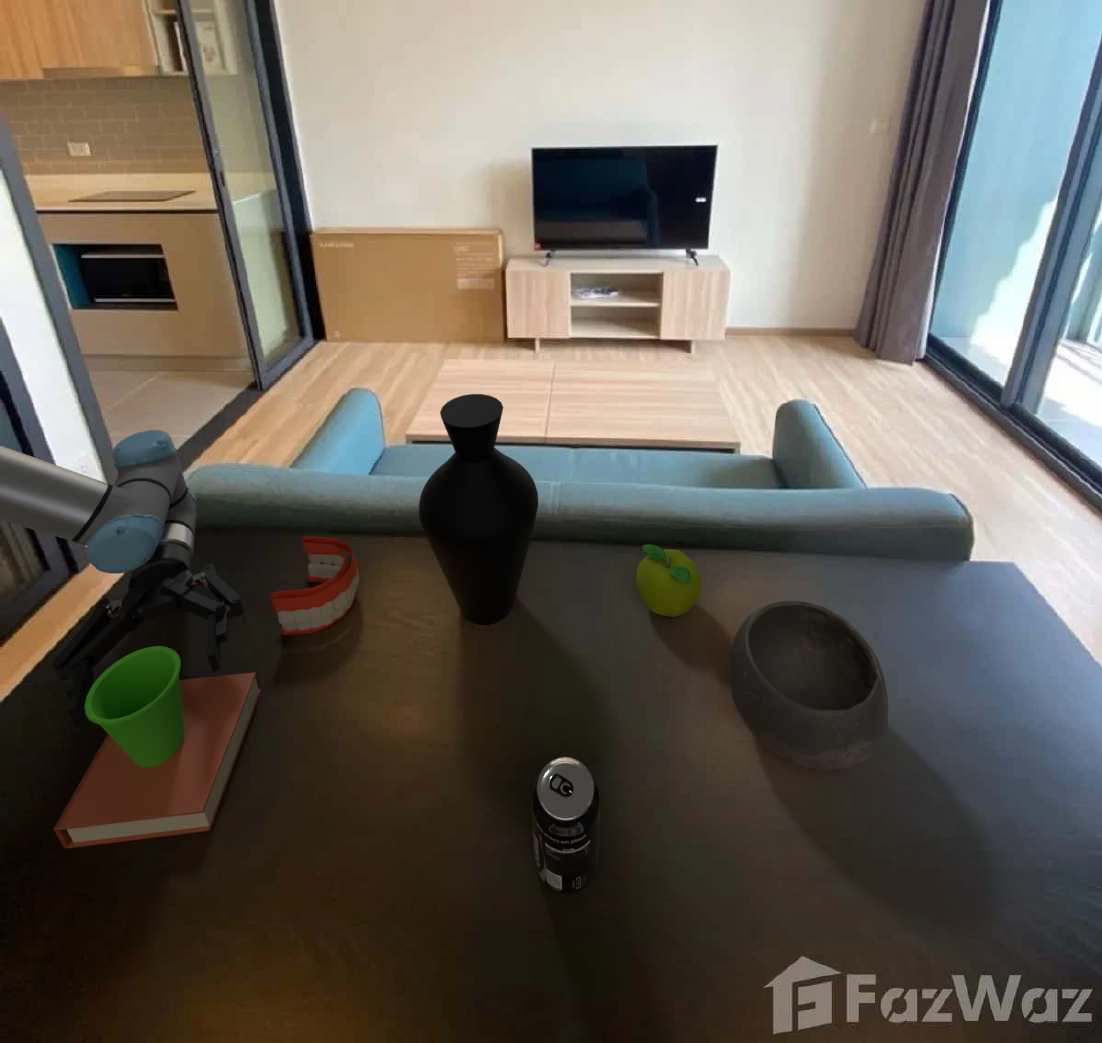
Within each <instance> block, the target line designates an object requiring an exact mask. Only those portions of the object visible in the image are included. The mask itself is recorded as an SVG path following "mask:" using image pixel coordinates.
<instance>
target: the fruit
mask: <svg viewBox="0 0 1102 1043" xmlns="http://www.w3.org/2000/svg"><path fill="white" fill-rule="evenodd" d="M641 549H642V550H641V551H643V552H644V553H645V554H646V555H647V556H645V557H644V558H643V559H642V560H640V562H639V564H638V566H637V570H636V575H635V582H636V583H635V584H636V589H637V592H638V594H639V596H640V598H641V600H642V601H643V603H644V604H645V606H646V607H647V608H648V609H649V610H650V611H651V613H654V614H656V615H659V616H664V617H670V618H677V617H679V616H680V617H681V616H682V615H684V614H685V613H688V611H690V610H691V609H692V608H693V607H694V605H695V604H696V603H697V601H698V599H699V598H700V595H701V591H702V576H701V573H700V569H699V568H698V566H697V565H696V564H695V563H694V562H693V561H692V559H690V558H689V557H688V556H687V555H686V554H685V553H684V552H683V551H681V550H680V549H676V548H675V549H673V548H672V549H671V548H670V549H669V548H668V549H663V548H661V547H660V546H658V545H655V544H651V543H649V544H644V545H642V546H641Z"/></svg>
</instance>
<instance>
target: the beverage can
mask: <svg viewBox="0 0 1102 1043" xmlns="http://www.w3.org/2000/svg"><path fill="white" fill-rule="evenodd" d="M598 786H599V785H598V783H597V781H596V779H595V777H594V776H593V774H592V772H591V771H590V770H589V769H588V768H587V766H585V764H584V763H583V762H581V761H580V760H578V759H576V758H573V757H570V756H561V757H557V758H554V759H552V760H550V761H549V762H548V763H547V764H546V765H545V766H544V767H543V769H542V770H541V771H540V772H539V774H538V775H537V777H536V779H535V781H534V784H533V786H532V791H531V802H530V804H531V820H532V821H531V822H532V823H531V824H532V840H533V841H532V842H533V855H534V863H535V867H536V871H537V873H538V875H539V877H540V878H541V880H542V881H543V883H544V884H545V885H546V886H547V887H548V888H549V889H551V890H552V891H553V892H556V893H559V894H563V895H571V894H576V893H578V892H580V891H582V890H583V889H584V888H586V887H587V886H588V885H589V884H590V883H591V881H592V880H593V879H594V876H595V874H596V872H597V869H598V864H599V857H600V834H601V832H600V830H601V828H600V826H601V824H600V823H601V796H600V790H599V787H598Z"/></svg>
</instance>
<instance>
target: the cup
mask: <svg viewBox="0 0 1102 1043" xmlns="http://www.w3.org/2000/svg"><path fill="white" fill-rule="evenodd" d="M181 664H182V661H181V657H180V654H178V652H177V651H176V650H174V649H172V648H170V647H167V646H161V645H155V646H147V647H144V648H141V649H137V650H135V651H133V652H131V653H129V654H126V655H125V656H123V657H122V658H120V659H118V660H117V661H115V662H114V663H113V664H112V665H110V666H109V667H107V668H106V669H105V670H104V671H103V672H102V673H101V674H100V675H99V676H98V677H97V679H96V680H95V681H94V683H92V687H91V689H90V691H89V693H88V695H87V698H86V702H85V714H86V715H85V717H87V718H88V720H89V721H90V722H92V723H94V724H96V725H99V726H100V727H101V728H102V729H103V730H104V731H105V732H106V733H107V735H108V734H109V735H110V736H111V738H112V739H113V740H114V741H115V742H116V743H117V744H118V745H119V746H120V747H121V748H122V750H123V751H124V752H125V753H126V754H127V755H128V756H129V757H130V758H131V759H132V760H133V762H134V763H135V764H137V765H138V766H141V767H153V766H156V765H159V764H161V763H163V762H164V761H166V760H167V759H169V758H170V757H171V756H172V755H173V754H174V753H175V752H176V750H177V749H178V748H179V746H180V744H181V743H182V740H183V736H184V720H183V710H182V701H181V691H180V681H179V680H180V674H179V673H180V671H181Z"/></svg>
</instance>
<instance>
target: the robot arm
mask: <svg viewBox="0 0 1102 1043" xmlns="http://www.w3.org/2000/svg"><path fill="white" fill-rule="evenodd" d="M112 458H113V460H114V461H113V462H114V464H113V466H114V467H115V468H116V470H117V477H116V480H115V482H114V484H110V483H107V482H104V481H101V480H98V479H96V478H92V477H90V476H87V475H84V474H82V473H79V472H77V471H73V470H71V469H68V468H65V467H62V466H60V465H57V464H54V463H51V462H48V461H46V460H43V459H40V458H37V457H35V456H31V455H28V454H26V453H23V452H20V451H18V450H15V449H12V448H9V447H6V446H3V445H1V444H0V521H3V522H6V523H9V524H13V525H17V526H20V527H23V528H27V529H30V530H32V531H33V530H34V531H36V532H40V533H42V534H43V533H44V534H47V535H49V536H53V537H57V538H61V539H64V540H67V541H70V542H74V543H76V544H79V545H83V546H85V549H86V552H85V555H86V560H87V562H88V563H89V564H91V565H92V567H94V568H95V570H97V571H99V572H101V573H105V574H111V575H112V574H113V575H114V574H125V573H129V572H130V574H129V579H128V586H127V592H126V593H125V594H124V595H123V597H122V598H120V599H117V600H116V599H115V600H113V601H110V600H109V598H107V597H104V598H102V599H100V600H99V601H97V604H96V606H95V608H94V611H93V613H92V614H91V615H90V617H89V618H88V619H87V620H86V621H85V623H84V624H83V625H82V626H81V627H80V629H79V630H78V631H77V632H76V634H75V635H74V636H73V637H72V639H70V641H69V642H68V643H67V645H66V646H65V647H64V648H63V649H62V651H61V652H60V653H59V654H58V656H56V658H55V659H54V660H53V661H52V663H51V667H52V669H53V671H54V673H55V675H56V678H57V679H58V681H60V682H62V681H65V680H66V681H65V686H64V691H65V694H66V696H67V698H68V700H69V703H68V707H67V712H68V714H69V716H70V719H71V721H72V722H73V724H74V726H75V727H78V726H81V725H83V724H84V723H85V720H86V714H85V702H86V698H87V695H88V693H89V691H90V689H91V687H92V686H93V684H94V683H93V682H94V678H95V674H94V671H93V669H94V667H96V665H98V664H99V663H100V661H101V660H103V659H104V658H105V656H107V655H108V654H109V653H110V651H112V650H113V649H114V648H115V647H116V645H118V644H119V642H120V641H122V640H123V638H125V637H126V636H127V635H128V634H129V633H130V632H134V631H135V630H137V629H138V628H139V626H140V625H142V623H144V622H145V623H147V622H148V621H152V620H154V619H156V618H158V617H160V616H167V615H169V614H172V613H174V610H176V609H178V610H180V611H182V612H184V613H188V612H189V613H191V614H194V615H196V616H199V617H201V618H203V619H205V620H207V622H208V623H207V624H208V627H207V659H208V662H209V665H210V668H211V671H212V673H215V672H218V671H220V670H221V669H220V668H221V644H223V643H224V642H228V640H229V637H230V621H231V619H233V618H234V617H241V616H242V615H244V613H245V607H244V605H243V601H242V598H241V596H240V594H238V593H237V591H235V590H234V589H233V588H232V587H230V586H229V585H228V584H227V583H226V582H225V581H224V580H223V579H222V578H221V577H220V576H219V575H217V572H216V569H215V566H214V564H213V563H209V564H207V565H205V566H204V567H203V571H201V572H199V573H196V574H194V575H193V570H194V568H193V567H194V552H195V532H196V522H197V521H196V519H197V516H198V515H197V514H198V505H197V497H196V494H195V493H194V490H192V489H191V488H190V487H188V486H187V483H186V480H185V475H184V473H183V470H182V466H181V462H180V459H179V456H178V448H176V446H175V443H174V442H173V439H172V437H171V435H170V434H169V433H168V432H166V431H164V430H161V429H148V430H144V431H139V432H136V433H133V434H131V435H128V436H127V437H125V438H123V439H122V440H120V441H119V442H118V443H116V445H115V446H114V447H113V450H112ZM197 585H199V586H201V587H202V588H204V589H206V590H207V589H209V592H210V593H211V595H213V596H214V597H215V598H216V599H217V600H218V601H216V600H214V599H212V598H210V597H207V596H204V595H202V594H200V593H197V592H196V591H194V589H195V588H196V586H197Z"/></svg>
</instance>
